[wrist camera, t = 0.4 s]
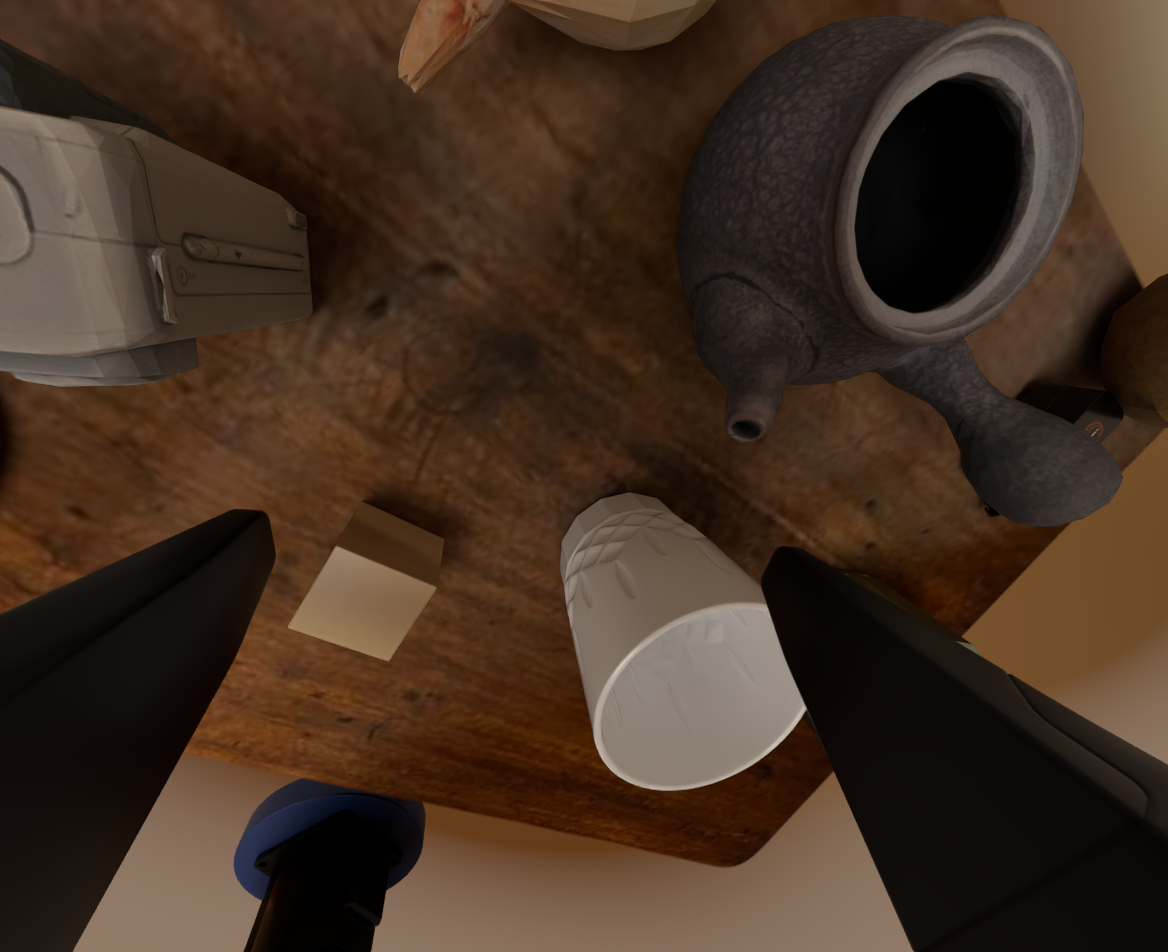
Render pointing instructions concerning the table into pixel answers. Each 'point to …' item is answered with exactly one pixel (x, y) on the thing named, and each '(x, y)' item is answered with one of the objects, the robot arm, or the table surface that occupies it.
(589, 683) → the white cup
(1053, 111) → the teapot
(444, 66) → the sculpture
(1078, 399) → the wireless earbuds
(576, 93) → the table surface
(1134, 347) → the potato
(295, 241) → the camera
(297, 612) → the block
